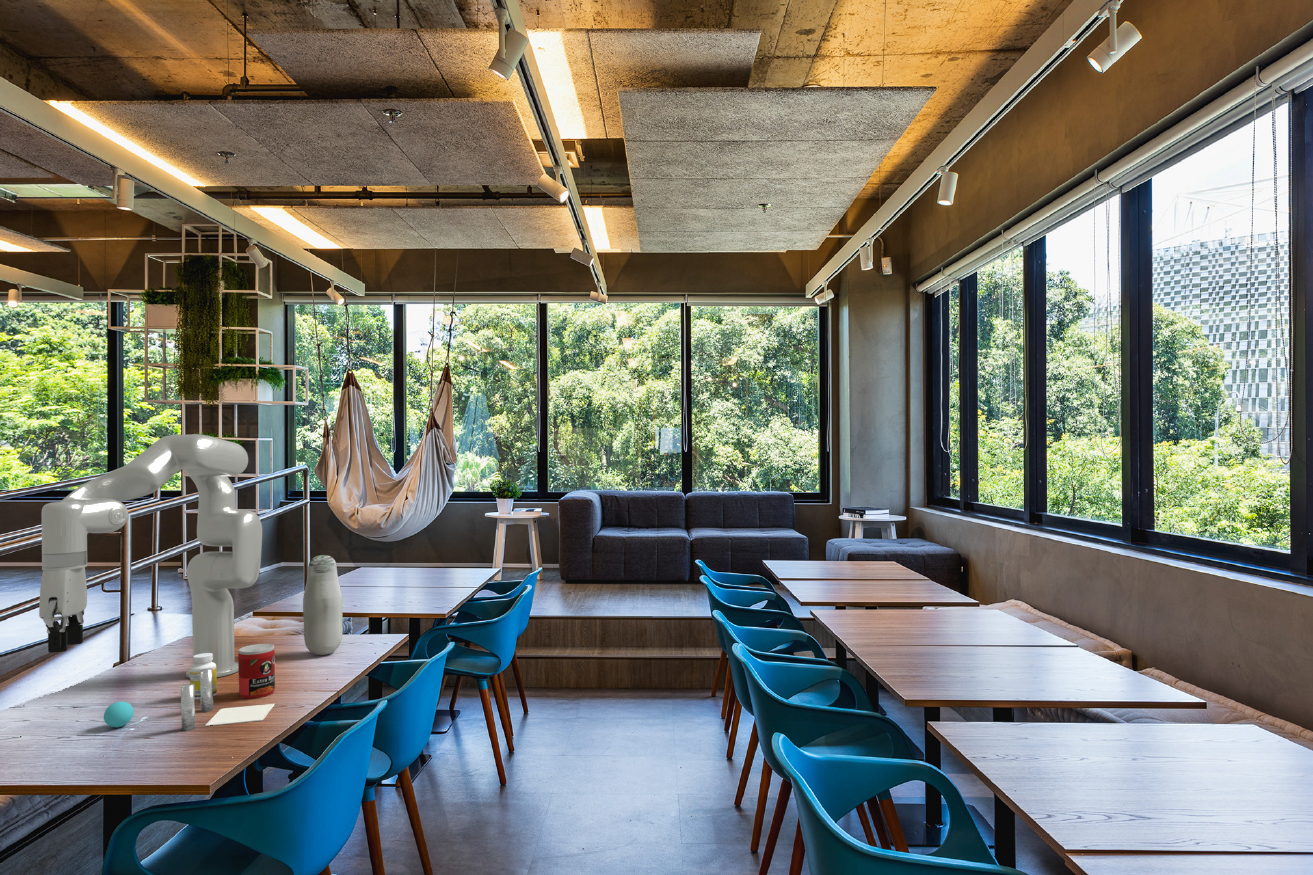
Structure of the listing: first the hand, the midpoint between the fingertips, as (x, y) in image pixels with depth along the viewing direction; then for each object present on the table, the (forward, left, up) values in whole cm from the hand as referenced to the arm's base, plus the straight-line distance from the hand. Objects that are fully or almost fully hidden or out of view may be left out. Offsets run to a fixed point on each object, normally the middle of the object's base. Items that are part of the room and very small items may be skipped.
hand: (66, 646), depth 162 cm
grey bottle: (-51, +42, -18) cm, 68 cm away
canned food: (-16, +33, -18) cm, 40 cm away
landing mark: (0, +33, -18) cm, 37 cm away
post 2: (-6, +25, -18) cm, 31 cm away
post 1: (+6, +25, -18) cm, 31 cm away
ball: (0, +10, -15) cm, 18 cm away
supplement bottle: (-18, +21, -18) cm, 32 cm away
